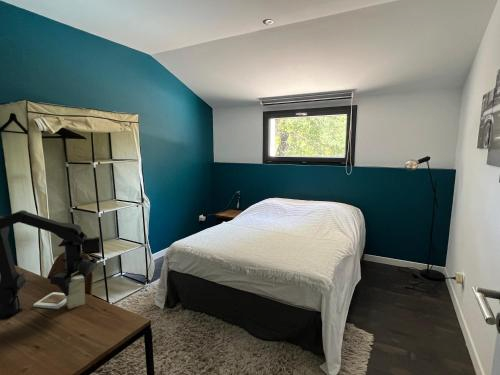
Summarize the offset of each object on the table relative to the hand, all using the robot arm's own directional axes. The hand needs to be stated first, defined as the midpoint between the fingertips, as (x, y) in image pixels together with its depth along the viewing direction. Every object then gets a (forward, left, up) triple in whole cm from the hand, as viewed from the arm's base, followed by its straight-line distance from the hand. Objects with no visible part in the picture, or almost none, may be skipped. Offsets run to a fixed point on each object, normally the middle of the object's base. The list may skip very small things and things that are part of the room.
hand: (75, 290), depth 114 cm
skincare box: (0, 0, -7) cm, 7 cm away
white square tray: (+1, +10, -6) cm, 12 cm away
